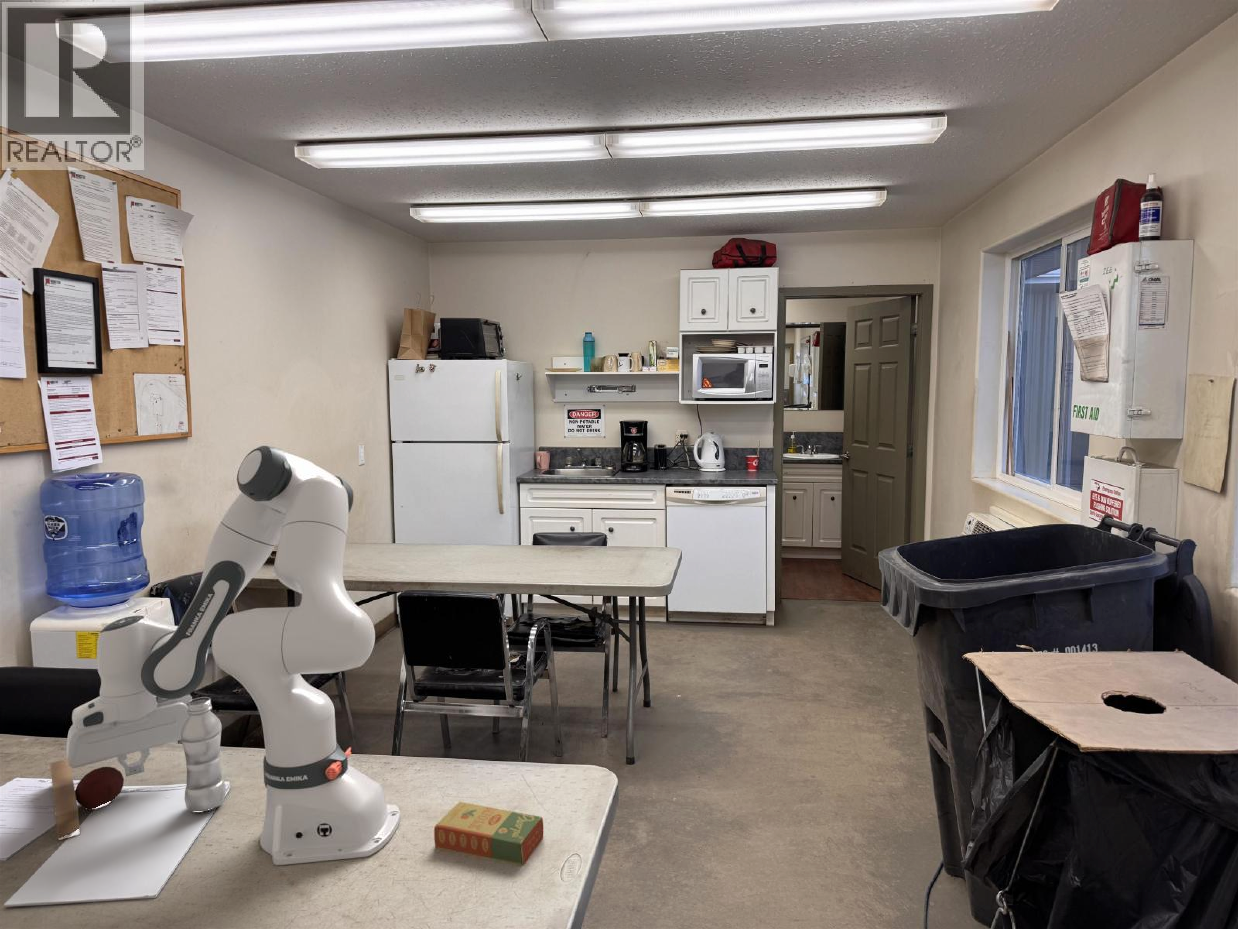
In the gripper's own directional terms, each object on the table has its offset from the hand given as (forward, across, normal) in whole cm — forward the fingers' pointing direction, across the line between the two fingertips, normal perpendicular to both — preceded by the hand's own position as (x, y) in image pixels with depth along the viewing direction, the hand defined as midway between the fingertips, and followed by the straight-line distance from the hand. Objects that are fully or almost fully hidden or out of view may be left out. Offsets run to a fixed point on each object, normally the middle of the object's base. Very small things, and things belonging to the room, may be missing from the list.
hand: (134, 773), depth 144 cm
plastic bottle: (+3, -9, +17) cm, 19 cm away
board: (+3, +11, 0) cm, 11 cm away
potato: (+3, +6, +2) cm, 7 cm away
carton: (+4, -43, +60) cm, 74 cm away
